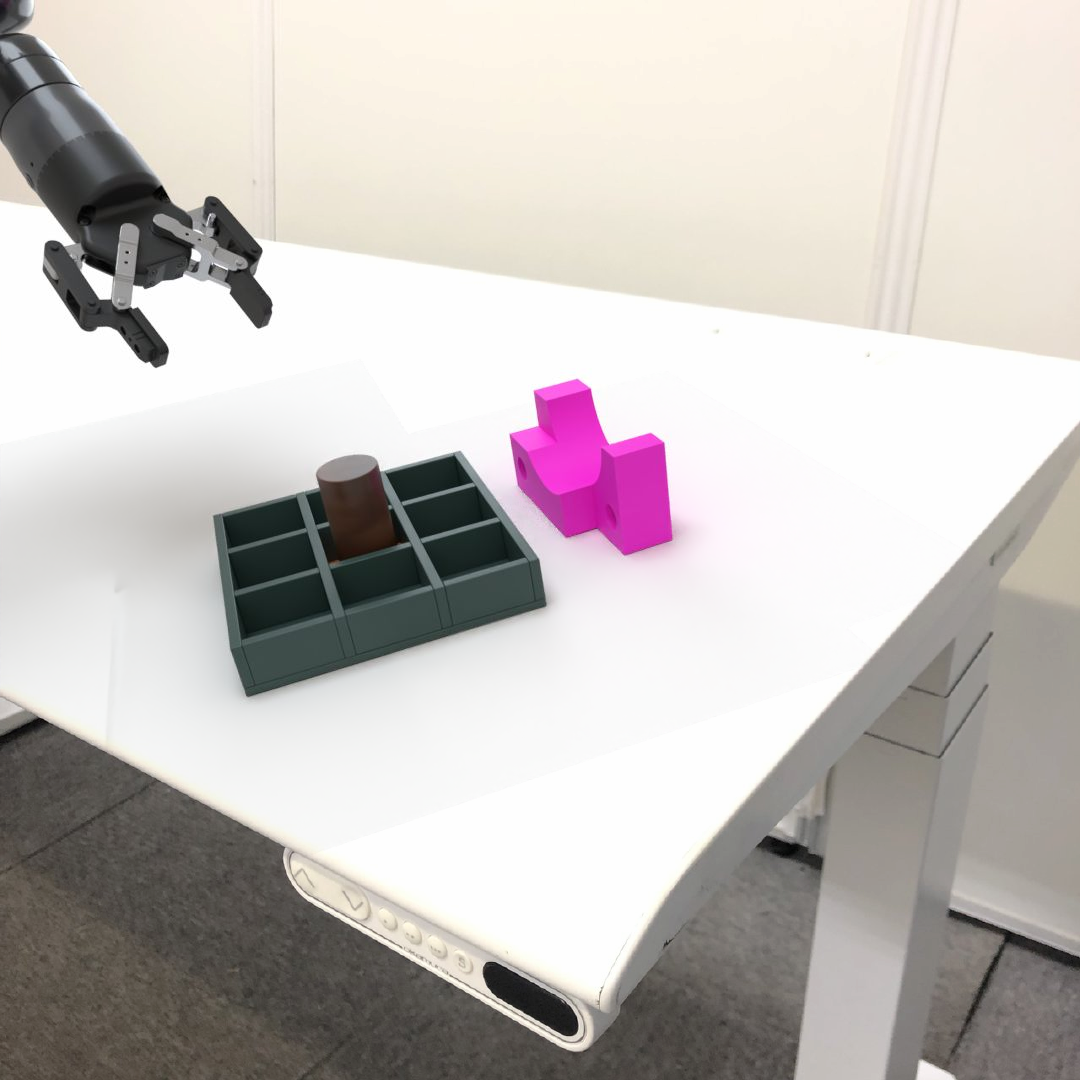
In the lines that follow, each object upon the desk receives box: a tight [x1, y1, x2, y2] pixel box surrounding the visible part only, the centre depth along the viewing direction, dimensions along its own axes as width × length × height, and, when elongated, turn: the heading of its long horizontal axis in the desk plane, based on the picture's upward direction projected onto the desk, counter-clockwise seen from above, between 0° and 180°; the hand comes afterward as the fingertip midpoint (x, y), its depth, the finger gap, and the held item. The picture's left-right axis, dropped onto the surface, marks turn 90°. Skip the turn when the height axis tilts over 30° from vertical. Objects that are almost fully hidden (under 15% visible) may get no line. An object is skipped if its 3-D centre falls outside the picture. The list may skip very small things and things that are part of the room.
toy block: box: [509, 378, 674, 556], centre depth 76 cm, size 15×6×8 cm, turn 21°
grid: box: [212, 450, 547, 697], centre depth 73 cm, size 20×20×4 cm
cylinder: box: [315, 453, 397, 561], centre depth 71 cm, size 4×4×8 cm
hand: (216, 339), depth 73 cm, fingers open, 8 cm apart
